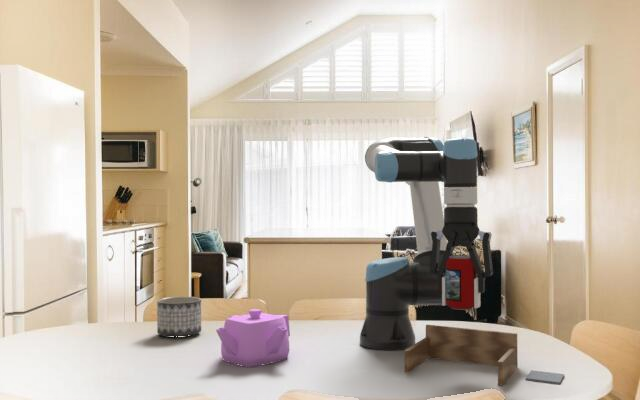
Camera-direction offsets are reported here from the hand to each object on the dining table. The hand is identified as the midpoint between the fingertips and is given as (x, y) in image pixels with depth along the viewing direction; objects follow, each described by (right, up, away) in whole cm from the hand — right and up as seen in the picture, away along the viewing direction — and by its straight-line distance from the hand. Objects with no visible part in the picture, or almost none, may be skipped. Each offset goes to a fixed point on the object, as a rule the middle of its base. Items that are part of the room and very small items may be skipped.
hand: (461, 305), depth 142 cm
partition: (0, -15, 0) cm, 15 cm away
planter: (-74, -16, +40) cm, 85 cm away
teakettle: (-49, -16, +11) cm, 52 cm away
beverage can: (0, -1, 0) cm, 1 cm away
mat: (+17, -15, -6) cm, 23 cm away
